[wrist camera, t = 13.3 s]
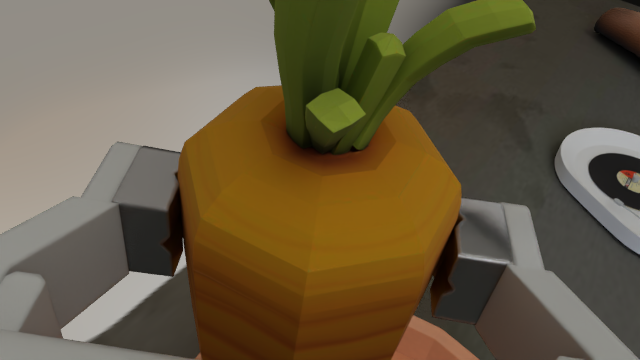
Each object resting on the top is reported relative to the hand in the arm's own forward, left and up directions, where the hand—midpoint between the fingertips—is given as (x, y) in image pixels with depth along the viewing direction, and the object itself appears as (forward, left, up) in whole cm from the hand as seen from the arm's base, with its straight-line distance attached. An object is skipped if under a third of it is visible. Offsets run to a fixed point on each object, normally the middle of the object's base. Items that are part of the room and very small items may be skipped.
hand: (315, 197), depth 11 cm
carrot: (0, -1, -9) cm, 9 cm away
